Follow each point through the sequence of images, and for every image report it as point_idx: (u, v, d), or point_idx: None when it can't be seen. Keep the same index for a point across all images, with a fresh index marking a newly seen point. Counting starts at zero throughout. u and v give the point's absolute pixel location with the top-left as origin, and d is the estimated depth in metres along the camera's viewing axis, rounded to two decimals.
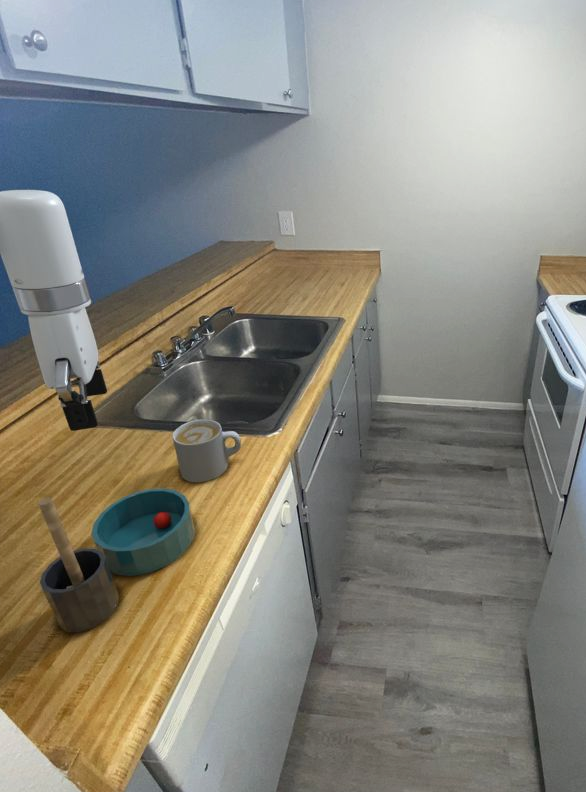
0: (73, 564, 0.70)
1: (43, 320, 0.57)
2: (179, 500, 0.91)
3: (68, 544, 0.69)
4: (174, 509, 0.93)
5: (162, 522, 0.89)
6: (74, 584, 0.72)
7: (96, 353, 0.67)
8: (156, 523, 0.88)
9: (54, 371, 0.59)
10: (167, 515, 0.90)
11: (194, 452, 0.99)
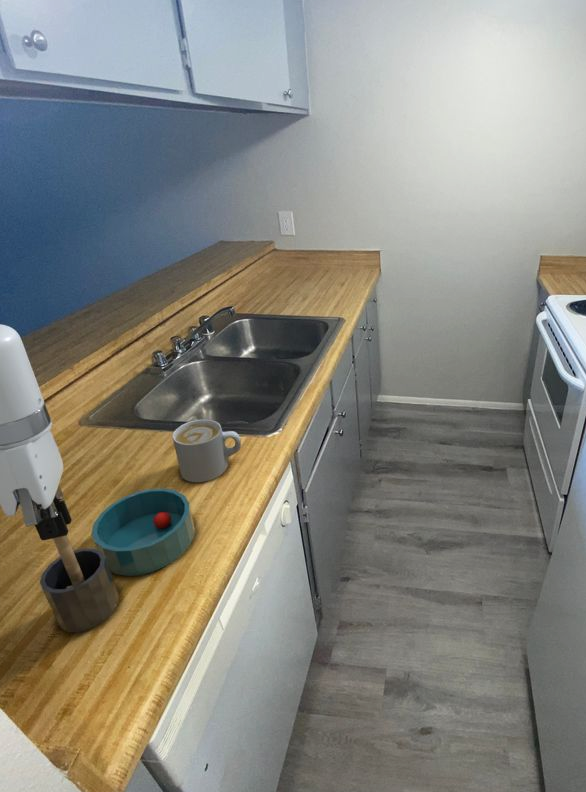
0: (73, 564, 0.70)
1: None
2: (179, 500, 0.91)
3: (68, 544, 0.69)
4: (174, 509, 0.93)
5: (162, 522, 0.89)
6: (74, 584, 0.72)
7: (60, 467, 0.66)
8: (156, 523, 0.88)
9: (12, 501, 0.58)
10: (167, 515, 0.90)
11: (194, 452, 0.99)
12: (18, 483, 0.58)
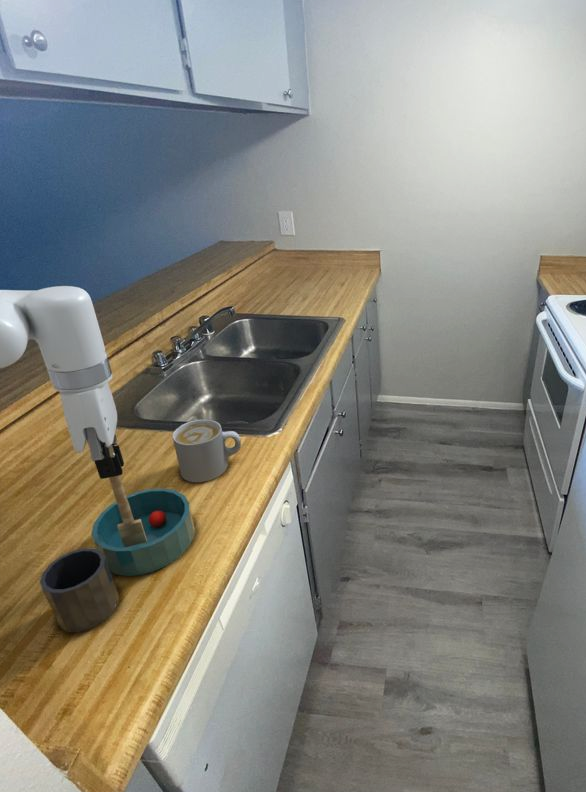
0: (125, 503, 0.80)
1: (73, 397, 0.66)
2: (179, 500, 0.91)
3: (121, 484, 0.79)
4: (174, 509, 0.93)
5: (152, 518, 0.89)
6: (125, 521, 0.82)
7: (116, 415, 0.76)
8: None
9: (82, 438, 0.68)
10: (159, 512, 0.90)
11: (194, 452, 0.99)
12: (87, 422, 0.68)
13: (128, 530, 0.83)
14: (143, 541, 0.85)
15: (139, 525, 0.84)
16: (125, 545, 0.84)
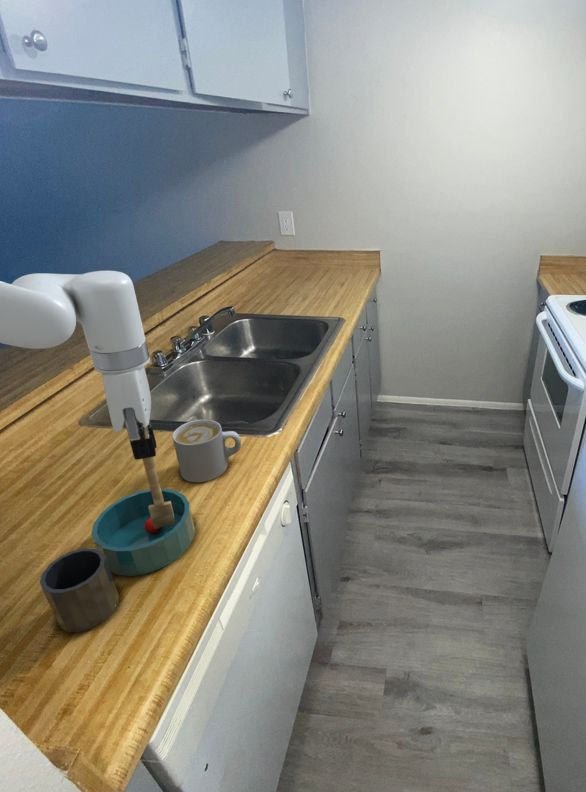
0: (157, 484, 0.83)
1: (115, 378, 0.68)
2: (179, 500, 0.91)
3: (154, 466, 0.81)
4: (174, 509, 0.93)
5: (149, 532, 0.88)
6: (156, 502, 0.84)
7: (150, 398, 0.79)
8: None
9: (121, 418, 0.71)
10: (153, 526, 0.87)
11: (194, 452, 0.99)
12: (127, 403, 0.70)
13: (159, 512, 0.85)
14: (172, 523, 0.88)
15: (169, 507, 0.86)
16: (155, 526, 0.86)
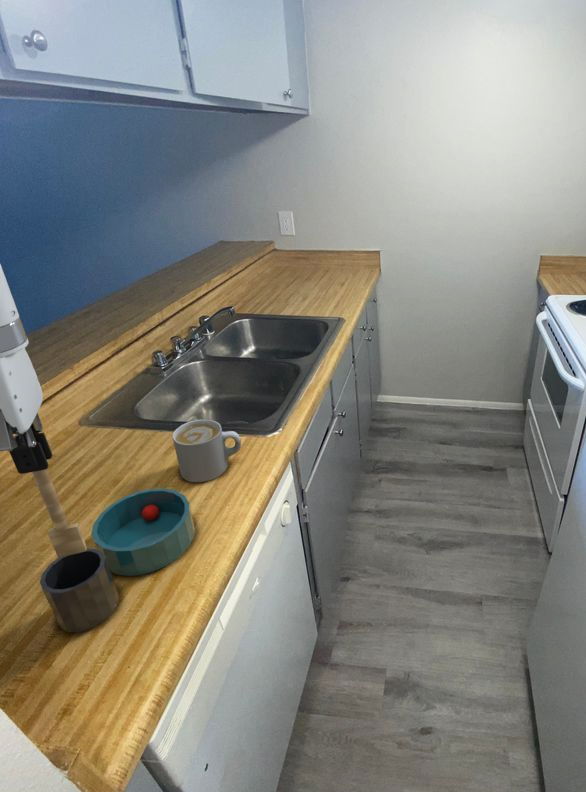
0: (55, 503, 0.66)
1: None
2: (179, 500, 0.91)
3: (49, 480, 0.64)
4: (174, 509, 0.93)
5: None
6: (56, 526, 0.67)
7: (39, 395, 0.62)
8: (142, 514, 0.90)
9: None
10: None
11: (194, 452, 0.99)
12: None
13: (62, 537, 0.68)
14: (82, 550, 0.70)
15: (76, 531, 0.69)
16: (59, 555, 0.69)
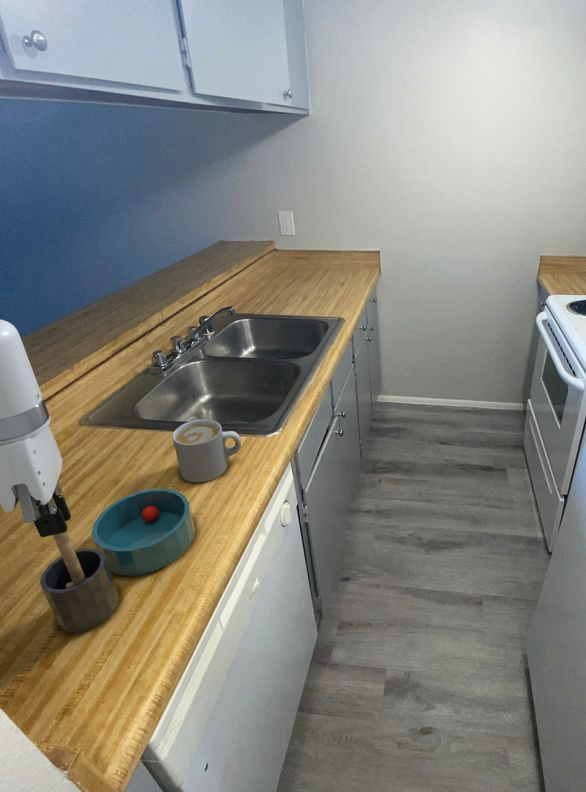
0: (73, 561, 0.70)
1: None
2: (179, 500, 0.91)
3: (68, 540, 0.69)
4: (174, 509, 0.93)
5: (143, 510, 0.91)
6: (74, 581, 0.71)
7: (59, 463, 0.66)
8: (142, 516, 0.90)
9: (11, 497, 0.58)
10: None
11: (194, 452, 0.99)
12: (17, 479, 0.57)
13: None
14: None
15: None
16: None
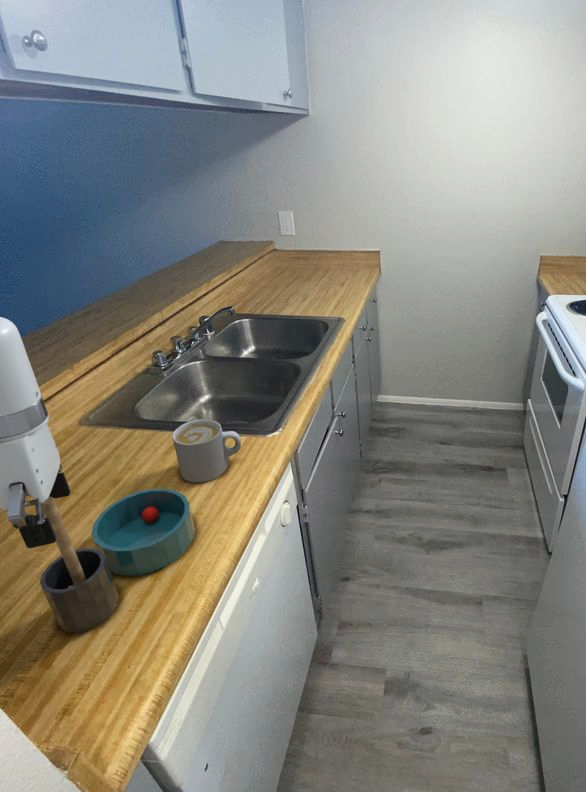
0: (75, 564, 0.70)
1: None
2: (179, 500, 0.91)
3: (70, 544, 0.69)
4: (174, 509, 0.93)
5: (143, 511, 0.90)
6: (76, 584, 0.72)
7: (57, 462, 0.66)
8: (142, 517, 0.90)
9: (8, 495, 0.58)
10: None
11: (194, 452, 0.99)
12: (14, 477, 0.57)
13: None
14: None
15: None
16: None
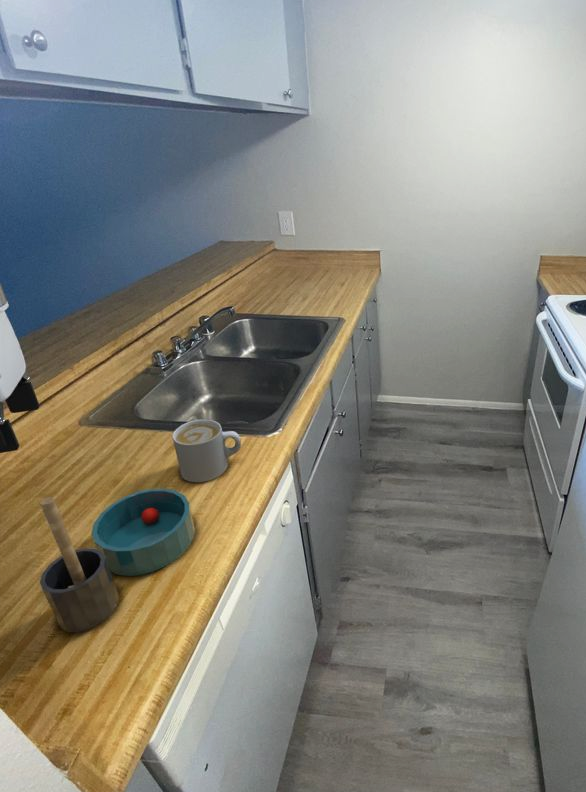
0: (75, 564, 0.70)
1: None
2: (179, 500, 0.91)
3: (70, 544, 0.69)
4: (174, 509, 0.93)
5: (143, 513, 0.90)
6: (76, 584, 0.72)
7: (21, 364, 0.59)
8: (142, 519, 0.90)
9: None
10: None
11: (194, 452, 0.99)
12: None
13: None
14: None
15: None
16: None
